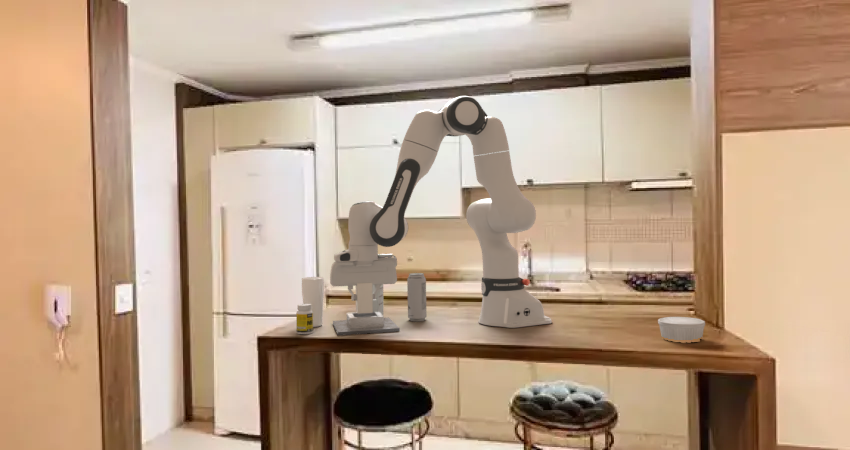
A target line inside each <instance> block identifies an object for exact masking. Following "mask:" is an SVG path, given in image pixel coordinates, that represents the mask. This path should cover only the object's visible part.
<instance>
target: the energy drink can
mask: <svg viewBox="0 0 850 450" xmlns="http://www.w3.org/2000/svg"><path fill="white" fill-rule="evenodd" d="M424 274H425V273H422V272H411V273H408V277H407V279H406V280H407V281H406V282H407V318H408V319H409V321H410V322H424V321H425V320H426V318H427V279H426V277H425V275H424Z"/></svg>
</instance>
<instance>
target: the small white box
mask: <svg viewBox="0 0 850 450" xmlns="http://www.w3.org/2000/svg"><path fill="white" fill-rule="evenodd" d="M355 294H356V295H357V300H356V301H355V312H357V313H373V300H372V283H357V286H355Z"/></svg>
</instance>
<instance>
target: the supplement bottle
mask: <svg viewBox="0 0 850 450" xmlns="http://www.w3.org/2000/svg"><path fill="white" fill-rule="evenodd" d="M311 308H312V307H311V304H303V303H298V304H297V311H296V315H295V316H296V317H295V318H296V320H295V321H296V334H298V335H310V334H312V333H314V327H313V312H312V310H311Z"/></svg>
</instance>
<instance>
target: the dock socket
mask: <svg viewBox="0 0 850 450" xmlns="http://www.w3.org/2000/svg"><path fill="white" fill-rule="evenodd" d="M332 325H333V328H334V330H335V332H337V333H336V335H337V336H338V335H340V336H352V335H351V334H355V335H365V334H366V335H367V333H370V334H381V333H383V332H385V333H397V332H396V331H400V330H401V329H400V326H398V325H397V324H396V323H395V322H394V321H393V320H392V318H391V317H384V314H383V315H382V314H381V313H380V312H379V311H373V313H357V312H356V311H355V312H353V311H352V312H346V319H344V320H340V319H339V320H332Z"/></svg>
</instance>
